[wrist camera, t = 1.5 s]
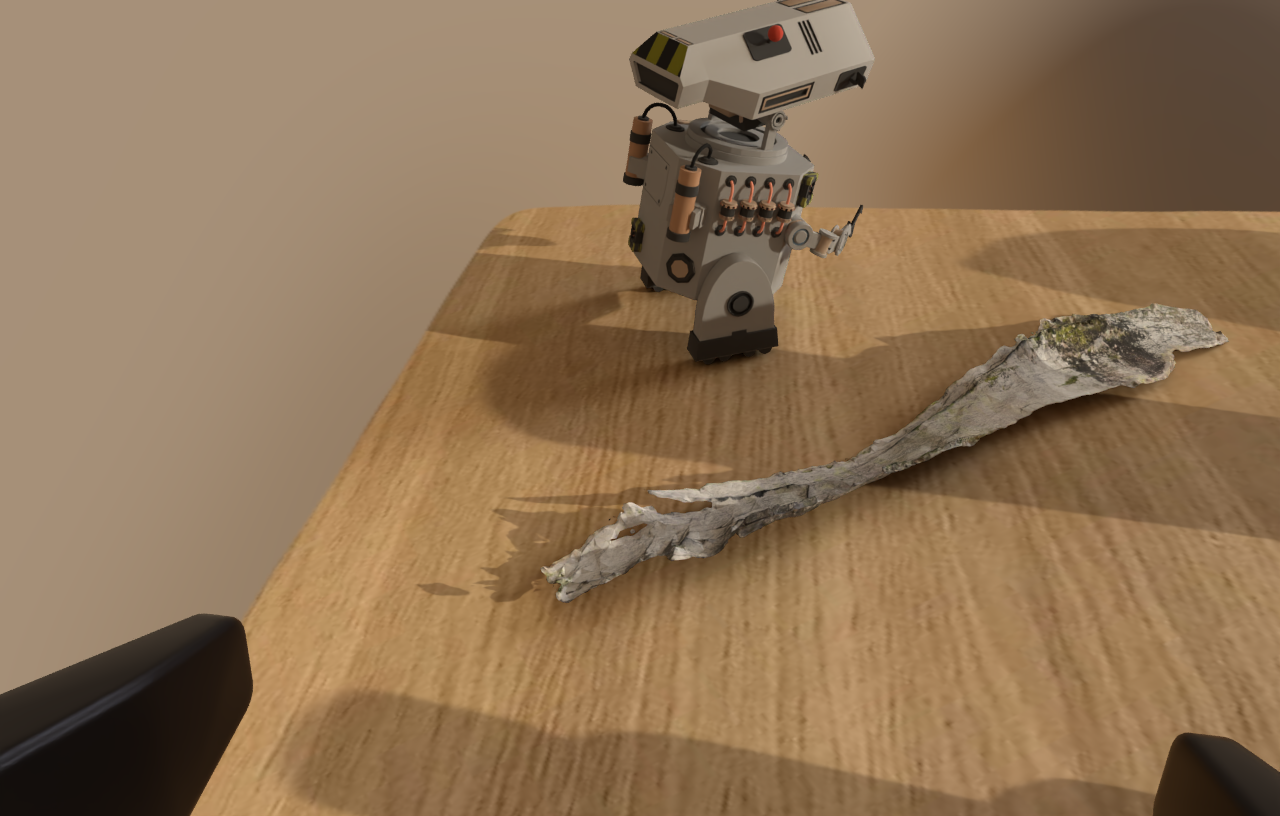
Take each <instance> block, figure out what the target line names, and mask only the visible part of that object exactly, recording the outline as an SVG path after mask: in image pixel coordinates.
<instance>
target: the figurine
mask: <svg viewBox="0 0 1280 816" xmlns="http://www.w3.org/2000/svg"><path fill="white" fill-rule="evenodd" d="M629 60H630V64H631V68H632V72H633V75H634V80H635V84H636V86H637V87H638V88H640V89H642V90H644V91H645V92H647V93H649V94H651V95H653V96H654V97H656V98H658V99H660V100H662V101H663V102H665V103H667V104H669V105H671V106H673V107H675V108H677V109H679V108H682V107H685V106H689V105H692V104H696V103H699V102H702V101H703V102H706V103H708V104H709V107H710V110H709V115H708V118H700V119H696V120H693V121H687V120H677V118H676V115H675V113H674V111H673V110H672V109H671V108H670V107H669V106H668V105H666V104H663V103H654V104H651V105H649V106H648V107H647V108H646V109H645V111H644V113H643V115H642V116H636V117H634V120H633V127H632V130H631V134H630V146H629V153H628V160H627V166H626V172H625V173H624V177H623V182H624V183H626V184H628V185H633V186H641V185H643V190H642V196H641V203H640V209H639V215H638V218H632V221H631V224H632V228H631V235H630V236H629V240H628V245H629V246H630V248H631V250H632V252H634V254H635V255H636V257H637V258H638V260H639V261H640V263H641V264H642V270H641V278H640V279H641V280H642V282H643V283H644V285H645V286H646V288H652V287H653V289H654V290H655V291H656V292H660V291H662V290H663V289H666V290H669V291H672V292H674V293H677V294H680V295H682V296H685V297H688V298H690V299H693V300H697V305H696V310H695V321H694V329H693V330H692V331H690V335H689V341H688V347H687V350H688V351H689V353H690V354H691V356H692V357H693V359H694V360H695V362H697V361H703V362H704V363H705V364H711V363H713V362H714V360H715V358H719V359H720V360H721V361H727V360H729V359H730V357H731V355H733V354H739V353H744V355H745V356H747V357H750V356H752V355H754V354H755V352H756V350H759V351H760V352H761V353H763V354H766V353H768V352H769V351H770V350H771V349H772V347H776V346H778V335H777V328H776V327H775V325H774V299H773V294H774V293H775V292H776V291H777V290H778V289H779V288H780V287H781V286H782V283H783V279H784V276H785V272H786V268H787V265H788V261H789V257H790V253H791V250H792V249H794V250H801V249H804V248H805V247H809V248H810V252H812V253H813V254H815V255H817V256H819V257H822V258H826V256H827V254H826V253H828V254H829V253H831V252H833V251H834V252H835V255H837V256H838V255H839V254H840V253H841V251H842V250H843V248H844V246H845V243H846V241H847V237H848V236H849V237H850V238H851V236H852V234H853V229H854V225H855V222H856V220H857V218H858V216H859V214H860V213H862V209H863V205H860V207H859V209H858V211H857V213H856V215H855V217H854V219H853V221H852V223H850V221H848V223H847V225H846V226H844V227H843V228H842V229H841V230H840V229H839V226H838V225H836V226H835V227H834V228H833V229H832V231H831V232H830V231H828V230H825V229H820V230H819V233H818V232H814V231H813V230H812V228H811V226H810V225H809V224H807V223H806V222H805V221H804V220H803V219H802V218H801V213H802V209H803V208H805V207H806V206H807V205H809V203H810V202H811V200H812V196H813V193H812V192H813V189H814V185H815V182H816V181H817V178H818V173H815V172H813V169H814V165H813V164H812V163H811V161H810V160H809V158H808V157H807V156H806V155H804V156H802V155H801V154H799V153H798V152H797V151H796V150H794V149H793V148H792V147H791V146H789V145H788V142H787V140H786V139H785V138H784V137H783V136H781V135H780V134H778V133H777V131H779V130H780V128H781V127H782V126H783V125H784V123H785V120H787V119H788V117H787V116H786V115H785V113H784V112H783V111H782V110H786V109H789V108H792V107H795V106H798V105H801V104H805V103H807V102H811V101H814V100H817V99H820V98H824V97H827V96H830V95H833V94H836V93H839V92H842V91H846V90H849V89H852V88H855V87H858V86H860V87H861V88H863V86H864V84H865V82H866V80H867V77H868V74H869V72H870V70H871V68H872V65H873V63H874V60H875V58H874V56H873V53H872V51H871V49H870V46H869V44H868V42H867V40H866V37H865V35H864V33H863V30H862V28H861V26H860V23H859V21H858V19H857V16H856V14H855V12H854V10H853V7H852V5H851V3H849V2H846V1H843V0H777V1H775V2H772V3H768V4H764V5H760V6H756V7H752V8H748V9H744V10H740V11H736V12H732V13H728V14H724V15H720V16H716V17H712V18H709V19H705V20H701V21H697V22H693V23H689V24H685V25H681V26H677V27H674V28H669V29H665V30H661V31H658V32H656V33H655V34H654V35H652V36H651V37H650V38H649V39H648V40H646V41H645V42H644V43H643V44H642V45H641V46H640V47H638V48H637V49H636V50H635V51H634V52H633V53H632V54H631V56H630V59H629ZM656 106H660V107H664V108H666V109H667V110H668V111H669V112H670V113H671V114H672V116H673V120H674V122H669V123H667V124H665V125H662V126H659V127H657V128H655V129H653V130H652V136H651V127H652V120H651V119H650V118H648V117H646V115H647V113H648V111H649V110H650V109H651V108H653V107H656ZM763 125H766V127H762V126H763ZM650 139H651V142H650ZM649 143H650V148H649V153H647V152H648V146H649Z"/></svg>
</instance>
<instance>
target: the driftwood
mask: <svg viewBox="0 0 1280 816" xmlns="http://www.w3.org/2000/svg"><path fill="white" fill-rule="evenodd" d="M1031 333H1032V334H1034V333H1033V332H1031ZM1014 340H1015V341H1016V344H1015V346H1013V347H1007V346H1002V347H1000V348H999V349H998V350H997V352H996V353H995V354H994V355H993V356H992V358H991V359H989V360H988V361H987V362H986V364H983V365H981V366H977V367H975V368H973V369H970V370H969V371H968V372H967V373H966V374H965V375H964V376H963V377H962V378H961V379H960V380H958V381H955V382H954V383H953V384H952V385H950V386H949V387H948V388H947V389H946V391H945V394H944V395H943V396H942V397H941V399H940V400H938V401H935V402H933V403H932V404H931V405H929V406H928V407H927V408H926V409H925V411H923V412H922V413H920V414H919V415H918V416H917V417H916V418H915V419H914V420H913V421H912V422H911V423H909V424H908V425H907V426H906V427H905V428H902V429H900V430H899V431H898V432H897V433H896V434H894V435H892V436H889V437H886V438H883V439H879V440H875V441H873V444H872V445H871V446H869V447H867V448H865V449H864V450H862V451H861V452H860V453H858V454H857V456H856V457H852V458H851V459H850V460H849V461H846V462H843V461H842V462H836V461H833V462H832V463H830V464H827V465H823V466H816V467H815V466H812V467H809V468H806V469H798V470H797V471H790V472H786V473H783V472H778V473H775V474H773V475H771V476H770V477H768V478H760V479H755V480H750V481H738V480H735V481H727V482H723V483H707V484H706V485H705V486H703V487H702V488H701V489H699V490H697V489H687V488H685V489H682V490H666V491H664V490H648V493H649V494H653V495H656V496H657V497H661V498H670V499H674V500H679V501H682V502H694V501H706V500H707V501H709V502H712V508H704V509H702V510H701V511H698V512H687V513H685V514H682V513H679V512H671V513H668V514H664V515H662V514H660V513H657V512H656V510H655V508H654V507H652V506H648V507H643V508H642V507H639V506H637V505H636V504H634V503H632V502H629V503H626V504H624V505H623V507H622V508H623V510H624V513H622V512H620V514H619V516H618V518H617V519H618V520H617V522H616V523H615V524H613V525H607V526H604V527H602V528H601V529H599V530H597V531H595V533H594V534H592V535H590V536H589V537H588V539H587V540H586V542H585V544H584V545H583V546H582V547H581V548H580V549H574V550H573V551H572V552H571V553H570V554H569V555H567V556H565V557H562V558H561V559H560V560H558V561H555V562H554V563H553V564H552V565H551V566H550V567H547V566H544V567H542V568H540V569H541V571H542V572H543V573H544V574H545V575H546V576H547V581H548V582H549V583H551V584H554V583H559V584H561V586H560V588H559V590H558V592H557V593H556V598H557V599H558V600H560V601H562V602H565V603H569V602H570V601H572V600H573V599H575V598H576V597H578V596H579V595H581V594H583V593H586V592H588V591H589V590H590V589H593V588H595V587H597V586H598V585H600V584H604V583H607V582H609V581H611V580H612V579H614V578H615V577H617V576H619V575H621V574H625V573H627V572H628V570H629V569H630V568H632V567H633V566H634V565H636V564H637V563H639V562H641V561H645V560H648V559H649V558H652V557H655V556H658V555H659V556H667V558H668V559H669V560H671V561H674V560H682V559H688V558H691V557H697V558H700V557H701V558H706V557H711V556H713V555H715V554H717V553H719V552H720V551H721V550H722V549H723V548H724V546H725V544H727V543H728V539H729V538H731V537H732V536H733V535H734V534H735V533H736V534H737V535H738V536H739V537H745V536H747V535H748V534H750V533H752V532H754V531H756V530H758V529H761V528H762V527H763V526H765V525H767V524H770V523H772V522H773V521H775V520H779V519H783V518H787V517H796V516H800V515H803V514H804V513H806V512H808V511H810V510H812V509H814V508H816V507H818V506H819V505H820V504H822V503H825V502H829V501H832V500H835V499H837V498H839V497H841V496H842V495H844V494H846V493H848V492H850V491H852V490H855V489H857V488H859V487H861V486H863V485H865V484H867V483H870V482H873V481H875V480H878V479H881V478H883V477H885V476H888V475H889V474H891V473H894V472H896V471H901V470H904V469H907V468H909V467H910V466H912V465H915V464H917V463H920V462H922V461H927V460H929V459H931V458H932V457H934V456H936V455H937V454H939V453H941V452H943V451H945V450H948V449H951V448H955V447H959V446H968V447H970V446H973V445H975V444H976V442H978V441H979V439H980V438H981V437H983V436H985V435H987V434H991V433H993V432H994V431H995V430H999V429H1000V428H1006V427H1007V426H1008V425H1011V424H1014V423H1016V422H1017V420H1018V419H1021V418H1024V417H1026V416H1028V415H1030V414H1032V411H1034V410H1037V409H1039V408H1041V407H1043V406H1046V405H1047V404H1053V403H1056V402H1060V403H1061V402H1064V401H1066V400H1069V399H1073V398H1076V397H1079V396H1083V395H1087V394H1089V395H1092V394H1094V393H1098V392H1102V391H1104V390H1107V389H1109V388H1114V387H1117V386H1119V385H1124V386H1127V387H1131V388H1135V387H1136V386H1138V385H1139V384H1141V383H1145V384H1148V383H1152V382H1157V381H1159V380H1164V379H1166V378H1167V377H1168V375H1169V374H1170V373H1171V372H1172V370H1173V369H1174V368H1175V363H1176V362H1175V361H1174V357H1175V356H1174V355H1173V354H1172V352H1173V351H1174V350H1175V349H1177V350H1180V351H1181V352H1187V351H1190V350H1193V349H1197V348H1209V347H1214V346H1215V345H1217V344H1223V343H1224V342H1229V341H1228V338H1227V337H1225V336H1224V335H1223V333H1221V331H1219V332H1214V331H1212V326H1211V324H1210V323H1209V321H1208V319H1207V318H1206V317H1205V316H1203V315H1202V314H1201V313H1200V312H1198V311H1197V310H1192V309H1182V308H1176V307H1169V306H1164V305H1159V304H1151V305H1150V306H1148V307H1146V308H1140V309H1135V310H1131V311H1126V312H1124V313H1123V312H1120V313H1116V314H1105V315H1097V314H1091V315H1087V316H1083V315H1075V314H1073V315H1072V316H1062V317H1059V318H1054V319H1052V320H1048V319H1041V320H1040V327H1039V329H1038V331H1037V332H1036V334H1035V335H1034V336H1030V338H1028V339H1027V338H1026V337H1025V335H1023V334H1019V335H1018V336H1017V337H1016V338H1015V339H1014ZM845 460H846V459H845ZM613 517H614V516H613ZM609 520H610V519H609ZM642 523H645V524H648V525H647V526H646V527H644V528H642V529H641V530H640V531H639V532H637V533H636V534H635V535H633V536H624V537H621V538H619V539H617V540H614V541H610V540H611V539H616V538H617V536H618V534H619V532H620V531H622V530H624V529H626V528H631V527H633V526H636V525H640V524H642ZM630 532H631V534H632V533H635V530H634V529H632V530H631V531H630ZM553 587H554V586H553Z"/></svg>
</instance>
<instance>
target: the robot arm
mask: <svg viewBox="0 0 1280 816" xmlns="http://www.w3.org/2000/svg"><path fill="white" fill-rule="evenodd" d="M252 692H253V679H252V673H251V666H250V660H249V654H248V647H247V641H246V634H245V630H244V626H243V625H242V623H241V622H240V621H239V620H238V619H236V618H235V617H229V616H221V615H213V614H197V615H194V616H191V617H189V618H187V619H184V620H182V621H179V622H177V623H174V624H172V625H169V626H167V627H164V628H162V629H160V630H157V631H155V632H152V633H150V634H147V635H145V636H142V637H140V638H138V639H135V640H133V641H130V642H128V643H126V644H123V645H121V646H118V647H116V648H113V649H111V650H108V651H106V652H103V653H101V654H98V655H96V656H93V657H91V658H89V659H86V660H84V661H81V662H79V663H77V664H74V665H72V666H69V667H67V668H64V669H62V670H59V671H57V672H55V673H52V674H49V675H47V676H45V677H42V678H40V679H37V680H35V681H33V682H30V683H27V684H25V685H23V686H20V687H18V688H15V689H13V690H10V691H8V692H5V693H3V694H1V695H0V816H190V815H191V813H192V811H193V809H194V807H195V805H196V804H197V802H198V800H199V798H200V796H201V794H202V792H203V791H204V789H205V787H206V785H207V783H208V781H209V779H210V778H211V776H212V774H213V772H214V770H215V768H216V766H217V765H218V763H219V761H220V759H221V757H222V755H223V753H224V752H225V750H226V748H227V746H228V744H229V742H230V740H231V739H232V737H233V735H234V733H235V731H236V729H237V727H238V726H239V724H240V722H241V720H242V718H243V716H244V714H245V713H246V711H247V708H248V706H249V703H250V701H251V697H252ZM1153 816H1280V772H1279V771H1277V770H1276V769H1274V768H1273V767H1272V766H1270V765H1269V764H1267V763H1266V762H1264V761H1263V760H1262V759H1260V758H1259V757H1257V756H1256V755H1254V754H1253V753H1252V752H1250V751H1249V750H1247V749H1246V748H1244V747H1243V746H1242V745H1240V744H1239V743H1237V742H1236V741H1234V740H1232V739H1229V738H1226V737H1220V736H1212V735H1204V734H1195V733H1183V734H1180V735H1179V736H1177V737H1176V738H1175V740H1174V741H1173V743H1172V746H1171V748H1170V751H1169V755H1168V758H1167V761H1166V765H1165V768H1164V771H1163V774H1162V778H1161V781H1160V784H1159V788H1158V791H1157V794H1156V797H1155V801H1154V808H1153Z"/></svg>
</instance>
